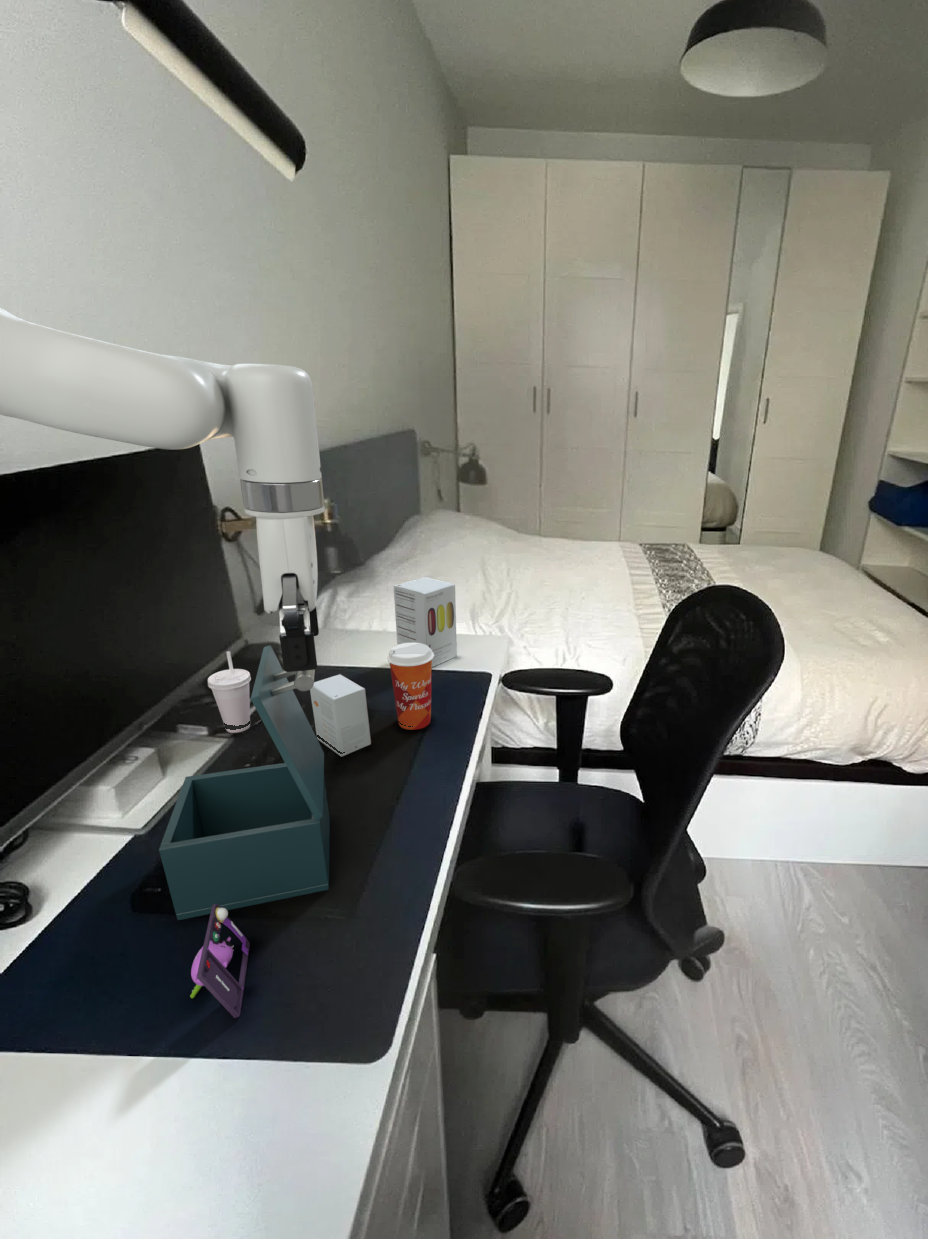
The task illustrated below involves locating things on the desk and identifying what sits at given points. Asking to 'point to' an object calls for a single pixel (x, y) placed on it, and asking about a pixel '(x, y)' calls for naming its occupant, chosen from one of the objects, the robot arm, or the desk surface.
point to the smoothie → (232, 695)
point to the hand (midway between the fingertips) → (302, 651)
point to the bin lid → (290, 726)
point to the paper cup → (412, 683)
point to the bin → (243, 841)
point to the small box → (341, 714)
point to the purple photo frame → (220, 963)
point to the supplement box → (427, 616)
